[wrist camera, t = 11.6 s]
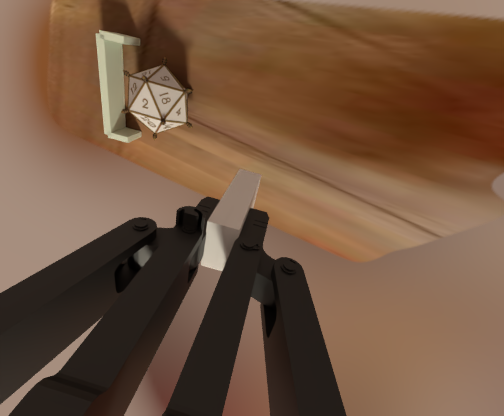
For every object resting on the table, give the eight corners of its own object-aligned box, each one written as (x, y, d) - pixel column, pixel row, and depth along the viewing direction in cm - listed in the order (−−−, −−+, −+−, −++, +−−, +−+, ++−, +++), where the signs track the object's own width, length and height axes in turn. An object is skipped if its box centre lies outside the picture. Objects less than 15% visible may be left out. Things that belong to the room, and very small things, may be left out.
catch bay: (140, 38, 33) (123, 36, 30) (141, 136, 40) (127, 142, 37) (114, 32, 33) (95, 29, 30) (119, 130, 40) (104, 136, 37)
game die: (196, 98, 39) (210, 142, 34) (142, 116, 39) (147, 163, 33) (172, 34, 31) (184, 76, 26) (104, 55, 31) (102, 102, 26)
